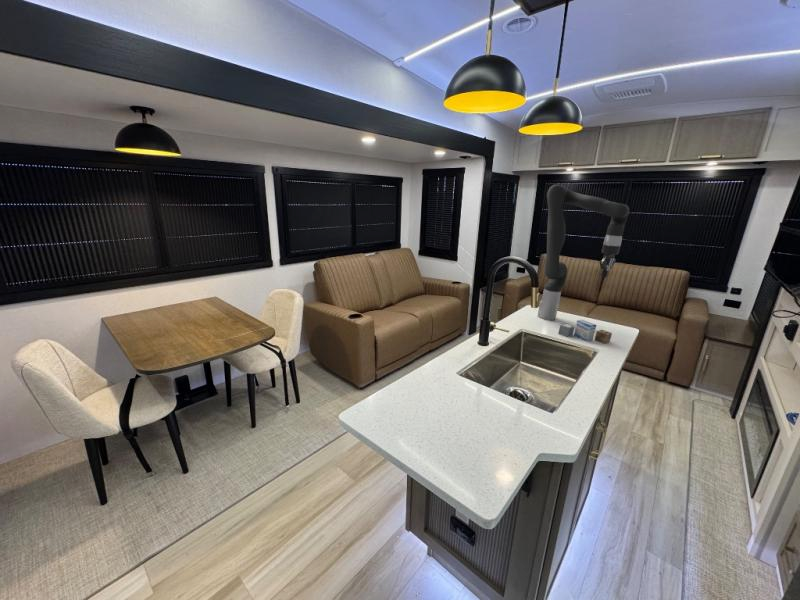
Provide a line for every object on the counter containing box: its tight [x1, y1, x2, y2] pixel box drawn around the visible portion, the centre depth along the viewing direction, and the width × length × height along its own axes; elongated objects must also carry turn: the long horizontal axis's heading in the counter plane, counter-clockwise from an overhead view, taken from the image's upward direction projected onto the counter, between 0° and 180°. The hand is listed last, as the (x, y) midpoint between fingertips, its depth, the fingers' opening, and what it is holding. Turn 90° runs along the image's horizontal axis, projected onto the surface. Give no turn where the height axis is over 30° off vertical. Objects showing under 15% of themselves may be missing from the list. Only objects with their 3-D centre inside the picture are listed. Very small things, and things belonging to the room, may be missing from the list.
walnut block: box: [594, 329, 613, 345], centre depth 160 cm, size 5×5×5 cm
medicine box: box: [573, 319, 597, 342], centre depth 162 cm, size 8×4×9 cm, turn 25°
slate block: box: [558, 323, 576, 338], centre depth 166 cm, size 5×5×5 cm
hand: (603, 277), depth 169 cm, fingers closed
